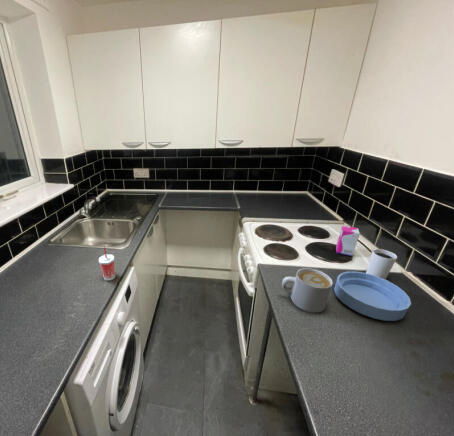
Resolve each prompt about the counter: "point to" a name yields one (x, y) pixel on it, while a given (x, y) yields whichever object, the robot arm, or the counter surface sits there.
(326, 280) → the coffee mug
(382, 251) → the white cup
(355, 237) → the supplement box
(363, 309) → the bowl
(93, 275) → the counter surface
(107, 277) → the beverage cup
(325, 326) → the counter surface
